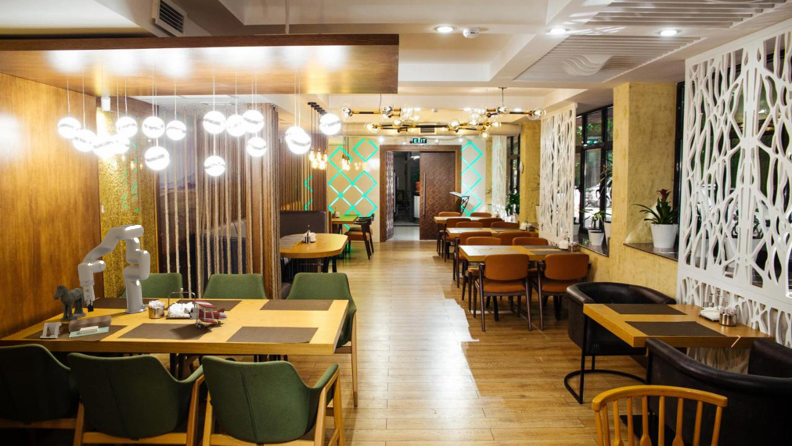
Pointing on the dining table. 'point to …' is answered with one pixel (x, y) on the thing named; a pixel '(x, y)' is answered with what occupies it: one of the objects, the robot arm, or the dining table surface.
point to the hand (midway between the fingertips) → (90, 311)
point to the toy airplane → (205, 313)
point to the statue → (70, 302)
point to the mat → (100, 330)
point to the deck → (90, 323)
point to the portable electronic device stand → (51, 329)
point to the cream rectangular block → (89, 330)
